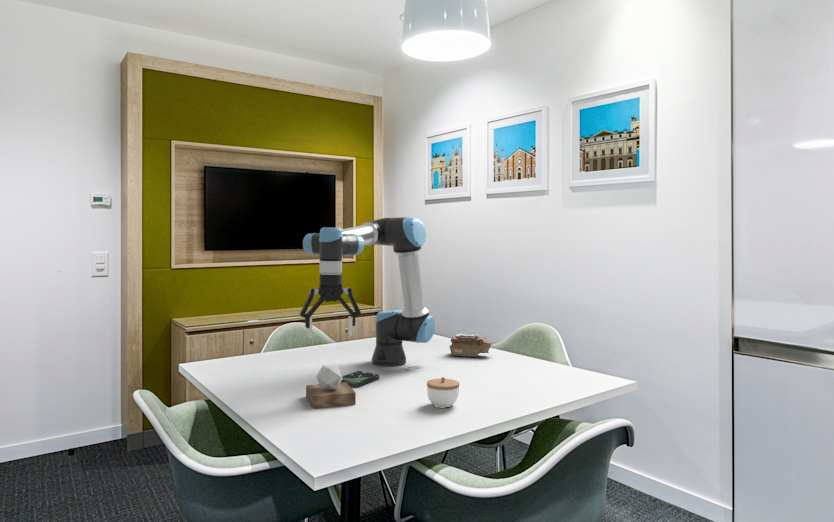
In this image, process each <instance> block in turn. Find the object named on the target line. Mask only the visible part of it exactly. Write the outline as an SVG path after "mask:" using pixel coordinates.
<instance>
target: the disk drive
mask: <svg viewBox="0 0 834 522" xmlns="http://www.w3.org/2000/svg"><path fill="white" fill-rule="evenodd" d="M341 376H342V378H343V379H342V381H341V383H342V382H346V383H347V384H348V385H349V386H350V387H351V388H355V389H359V388H362V387H364V386H367V385H369V384H372V383H374V382H376V381H379V380H380V374H379V373H375V372H374V373H373V372H368V371H367V372H363V371H362V370H361V371H360V370H356V371H353V372H350V373H349V374H348V373H347V374H345V375H341Z"/></svg>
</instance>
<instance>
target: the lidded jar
mask: <svg viewBox="0 0 834 522" xmlns="http://www.w3.org/2000/svg"><path fill="white" fill-rule="evenodd" d="M426 393H427V397H428V400H429V401H430V403H431V404H432V405H433V407H434V406H437V407H449V406H452V407H453V405H454V404H455V403H456V402H457V401H458V398H459V393H460V382H459V380H456V379H453V378H445V377H444V376H441V377H439V378H433V379H429V380H427V381H426ZM437 407H436V408H437Z"/></svg>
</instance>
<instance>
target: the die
mask: <svg viewBox="0 0 834 522" xmlns="http://www.w3.org/2000/svg"><path fill="white" fill-rule="evenodd" d="M342 376H343V375H342V374H341V370H340V368H339V366H338V364H337V365H336V364H335V365H331V364H330V365H329V364H328V365H327V364H326V365H325V364H324V365H322V366H321V368H320V369H319V371H318V372H317V375H316V380H317V383H318V384H319V385H320V388H321V390H337V388H338V386H339V384H340V383H341V381H342V379H343V378H342Z"/></svg>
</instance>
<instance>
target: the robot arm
mask: <svg viewBox="0 0 834 522" xmlns="http://www.w3.org/2000/svg"><path fill="white" fill-rule="evenodd" d="M426 236H427V232H426V229H425V225H424V224H423V221H421V220H420V219H419V218H417V217H410V216H406V217H405V216H404V217H403V216H402V217H383V218H379V219H375V220H370V221H366V222H365V221H364V222H363V223H361V224H360V225H358V226H357V225H356V226H352V227H347V228H341V227H322V228H320V230H319V233H316V232H313V233H307V234H305V236H304V237H303V240H302V248H303V250H304V252H305V253H306V254H308V255H314V256H315V255H319V273H320V274H319V277H318V278H319V280H318V281H319V287H318V288H313V287H312V288H310V289H309V292H308V293H309V294H308V296H307V298H306V300H305V303H304V304H303V306H302V308H301V310H300V313H299V316H300V317H301V318H304V319H305V320H304V321H305V323H304V324H305V325H304V327H305V329H308V336H307V337H308V338H309V339H313V318H312V316H313V315H314V313H315V312H316V311H317V309H318V308H319V307H320V306H321V305H322V303H324V302H326V303H329V302H334V303H335V302H337V301H338V302H339V303H340V304H341V306H342V307H343V308H344V309H345V310H346V311H347V312H348V313H349V316H348V322H347V323H348V337H353V327H356V317H357V316H359V315H361V314H362V311H361V310H360V307H359V306H358V303H357V302H356V299H355V298H354V296H353V292H352V291H353V290H352V288H351V287H349V286H348V287H345V288H343V275H342V274H341V273H343V256H357V255H360V254H361V253H363V251H364V250H365V245H366V246H373V245H374V246H388V247H391V246H392V249H393V253H395V254H396V255H397V258H398V259H397V260H398V267H399V268H398V269H399V274H400V275H399V277H400V282H401V283H400V285H401V293H402V299H403V308H404V309H403V310H402V309H392V310H391V309H390V310H383V311H379V312H378V313H376V317H375V318H376V319H375V348H374V350H373V353H372V357H371V364H373V365H375V366H380V367H398V366H404V365H406V363H407V355H406V353H405V350H404V349H405V348H404V347H403V342H410V343H417V344H420V343H421V344H427V343H429V341H431V339H432V338H433V336H434V334H435V331H436V319H435V317H434V316H433V315H429V314H430V312H429V309H428V308H427V307H425V302H424V301H425V299H424V291H423V283H422V282H423V281H422V275H421V274H422V273H421V264H420V263H421V262H420V257H419V256H420V255H419V252H420V251H421V250H422V246H423V245H425V242H426V238H427V237H426ZM317 293H318V294H319V297H318V298H317V300H316V301H315V303H313V305H312V307H310V305H311V303H312V302H313V301H312V300H313V299H314V297H315V296H316V295H317ZM343 293H344V294H345V295H346V297H347V298H348V300H349V301H350V303H351V306H352V308H353V309H352V308H351V307H350V305H348V303H347V302H346V301H345V299H344V298H343V297H342V295H343ZM309 308H310V309H309ZM308 309H309V310H308ZM353 310H354V311H353Z"/></svg>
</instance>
